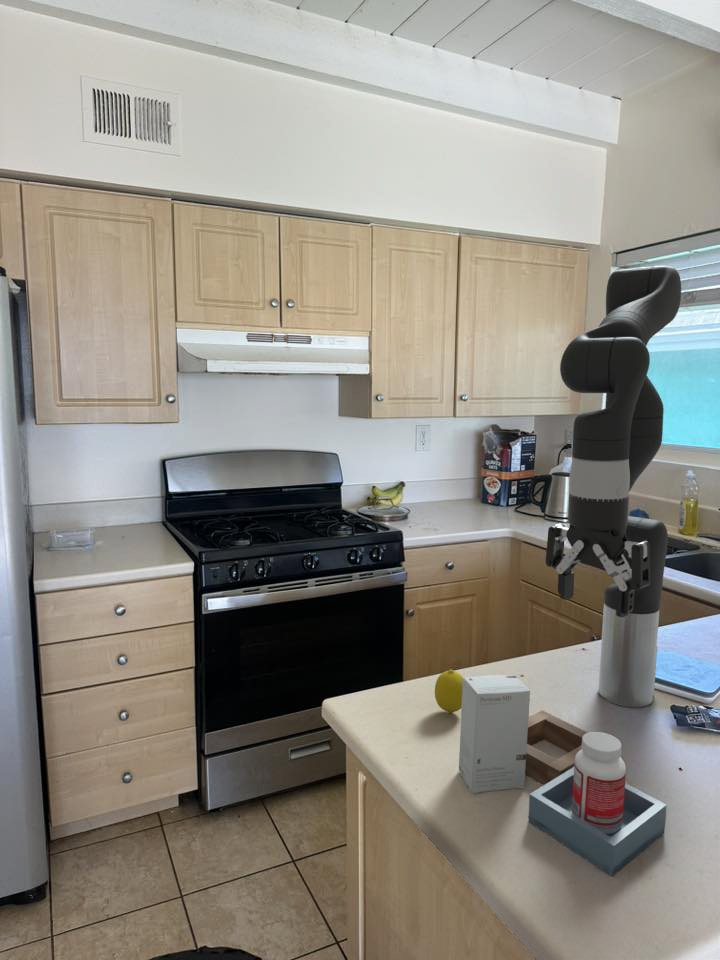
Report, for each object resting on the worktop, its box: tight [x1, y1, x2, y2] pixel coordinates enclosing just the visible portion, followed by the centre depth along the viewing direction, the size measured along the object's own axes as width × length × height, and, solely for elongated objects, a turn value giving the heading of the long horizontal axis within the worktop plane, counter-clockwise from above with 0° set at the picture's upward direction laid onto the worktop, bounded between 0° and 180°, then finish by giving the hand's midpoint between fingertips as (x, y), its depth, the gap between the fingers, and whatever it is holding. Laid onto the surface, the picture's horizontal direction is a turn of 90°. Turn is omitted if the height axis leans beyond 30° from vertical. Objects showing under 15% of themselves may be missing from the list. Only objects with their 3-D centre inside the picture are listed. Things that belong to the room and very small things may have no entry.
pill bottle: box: [572, 731, 627, 834], centre depth 83 cm, size 6×6×11 cm
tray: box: [528, 767, 668, 877], centre depth 84 cm, size 12×12×4 cm
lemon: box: [434, 669, 464, 715], centre depth 112 cm, size 6×6×8 cm
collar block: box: [525, 710, 589, 786], centre depth 99 cm, size 12×12×4 cm
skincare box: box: [458, 674, 531, 794], centre depth 93 cm, size 8×6×15 cm
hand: (593, 606), depth 90 cm, fingers open, 8 cm apart
